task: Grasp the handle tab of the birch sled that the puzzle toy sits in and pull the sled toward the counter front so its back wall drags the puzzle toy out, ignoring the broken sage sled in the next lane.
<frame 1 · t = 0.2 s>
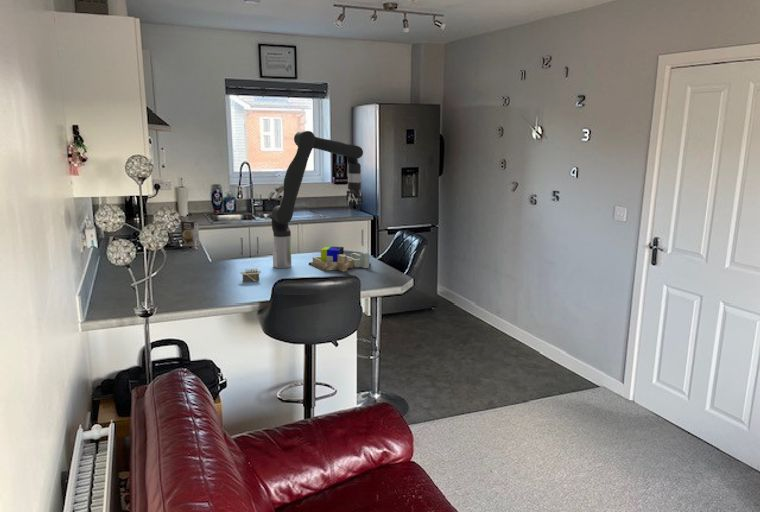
hand: (354, 209, 325), 29 cm above the counter, fingers open, 8 cm apart
lane rails: (340, 265, 313), on the counter
puzzle toy: (332, 266, 310), resting in birch sled
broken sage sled: (356, 257, 315), point 4 cm above the counter, slide at 0.0 cm
birch sled: (334, 259, 307), point 4 cm above the counter, slide at 0.0 cm, touching puzzle toy
wooden crate: (251, 282, 277), on the counter
coffee box: (190, 245, 364), on the counter
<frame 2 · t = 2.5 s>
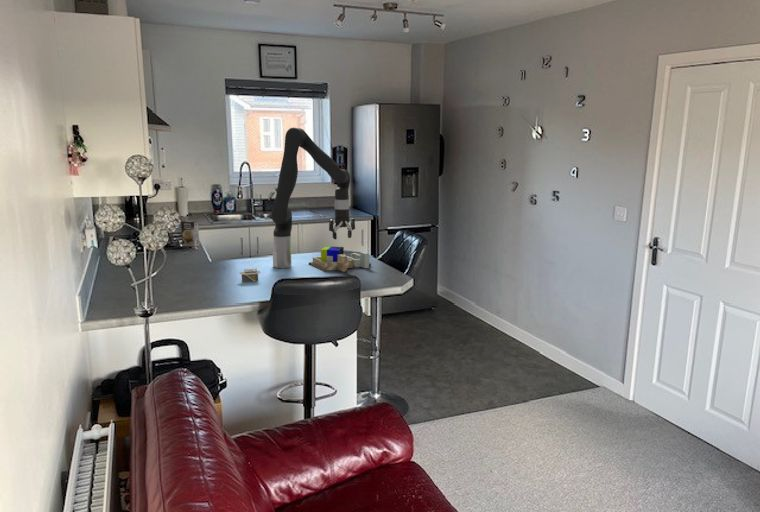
hand: (342, 238, 297), 17 cm above the counter, fingers open, 8 cm apart
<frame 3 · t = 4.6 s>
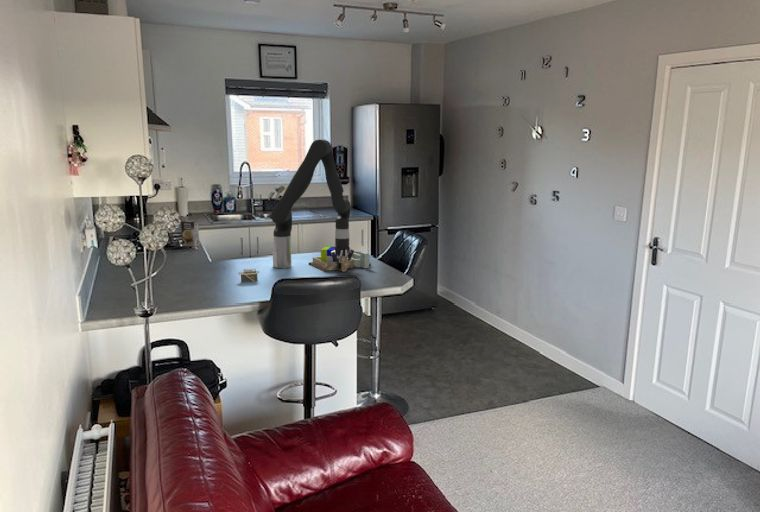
hand: (342, 268, 301), 1 cm above the counter, fingers closed on birch sled, 2 cm apart
birch sled: (334, 259, 307), point 4 cm above the counter, slide at 0.0 cm, touching gripper, puzzle toy
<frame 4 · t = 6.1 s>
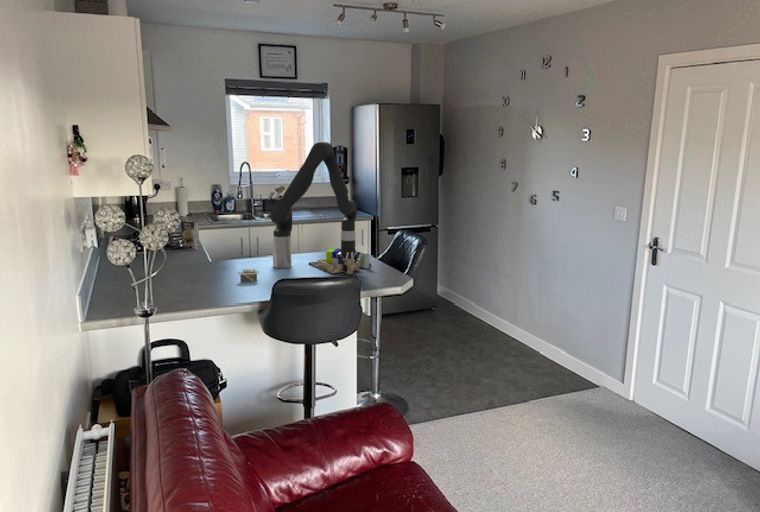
hand: (348, 271, 295), 1 cm above the counter, fingers closed on birch sled, 2 cm apart
puzzle toy: (337, 268, 305), resting in birch sled
birch sled: (340, 262, 302), point 4 cm above the counter, slide at 6.5 cm, touching gripper, puzzle toy
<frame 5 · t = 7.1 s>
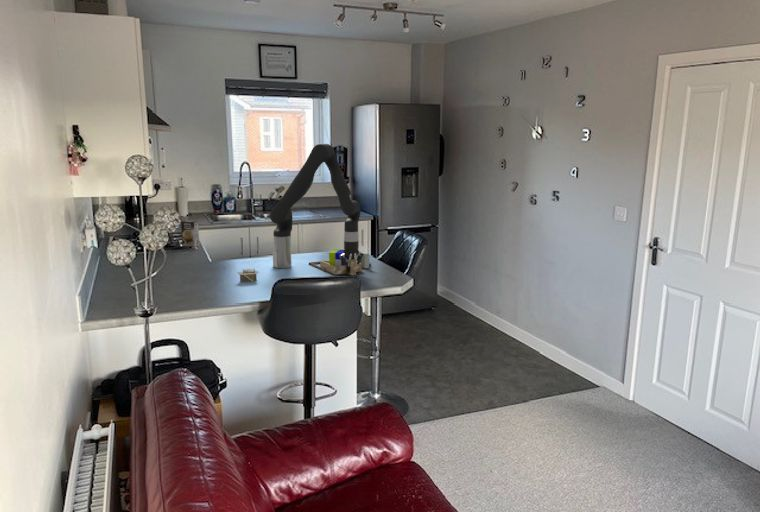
hand: (351, 272, 292), 1 cm above the counter, fingers closed on birch sled, 2 cm apart
puzzle toy: (340, 270, 302), resting in birch sled
birch sled: (343, 263, 299), point 4 cm above the counter, slide at 9.9 cm, touching gripper, puzzle toy
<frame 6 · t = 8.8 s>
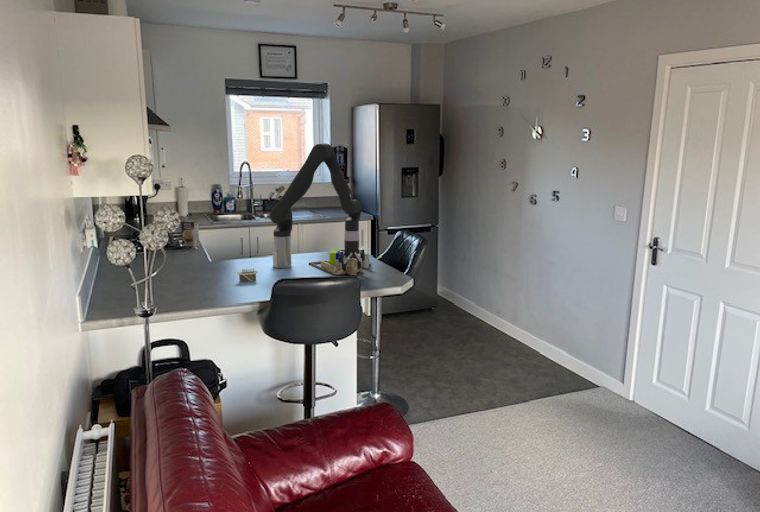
hand: (351, 269, 291), 3 cm above the counter, fingers open, 8 cm apart
birch sled: (343, 263, 298), point 4 cm above the counter, slide at 10.4 cm, touching puzzle toy
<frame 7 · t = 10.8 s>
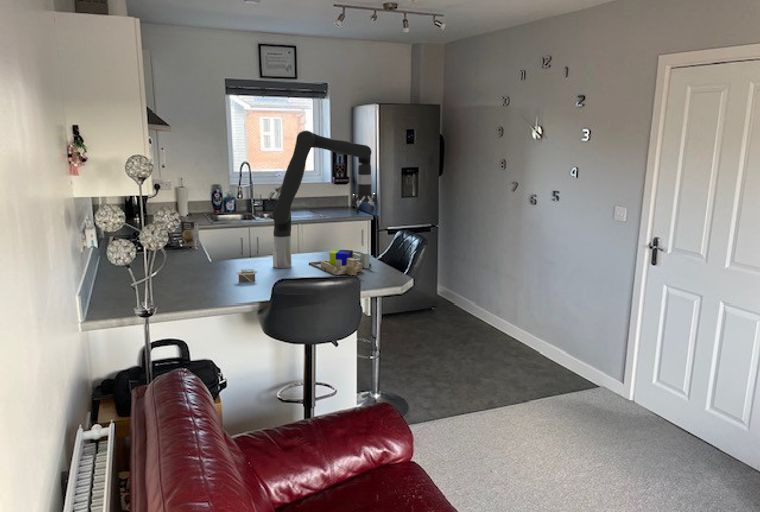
hand: (364, 213, 305), 30 cm above the counter, fingers open, 8 cm apart
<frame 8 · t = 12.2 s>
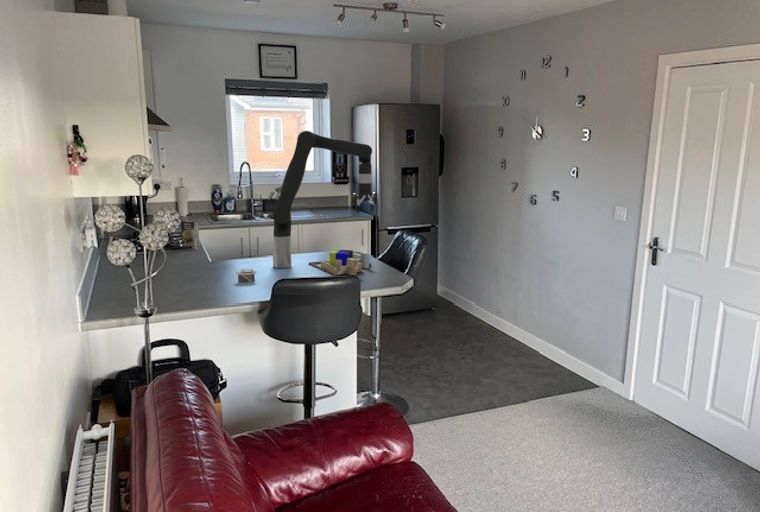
hand: (364, 212, 306), 30 cm above the counter, fingers open, 8 cm apart
at the end: birch sled slide at 10.4 cm; puzzle toy moved 10.4 cm from its start; puzzle toy tilted 0° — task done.
